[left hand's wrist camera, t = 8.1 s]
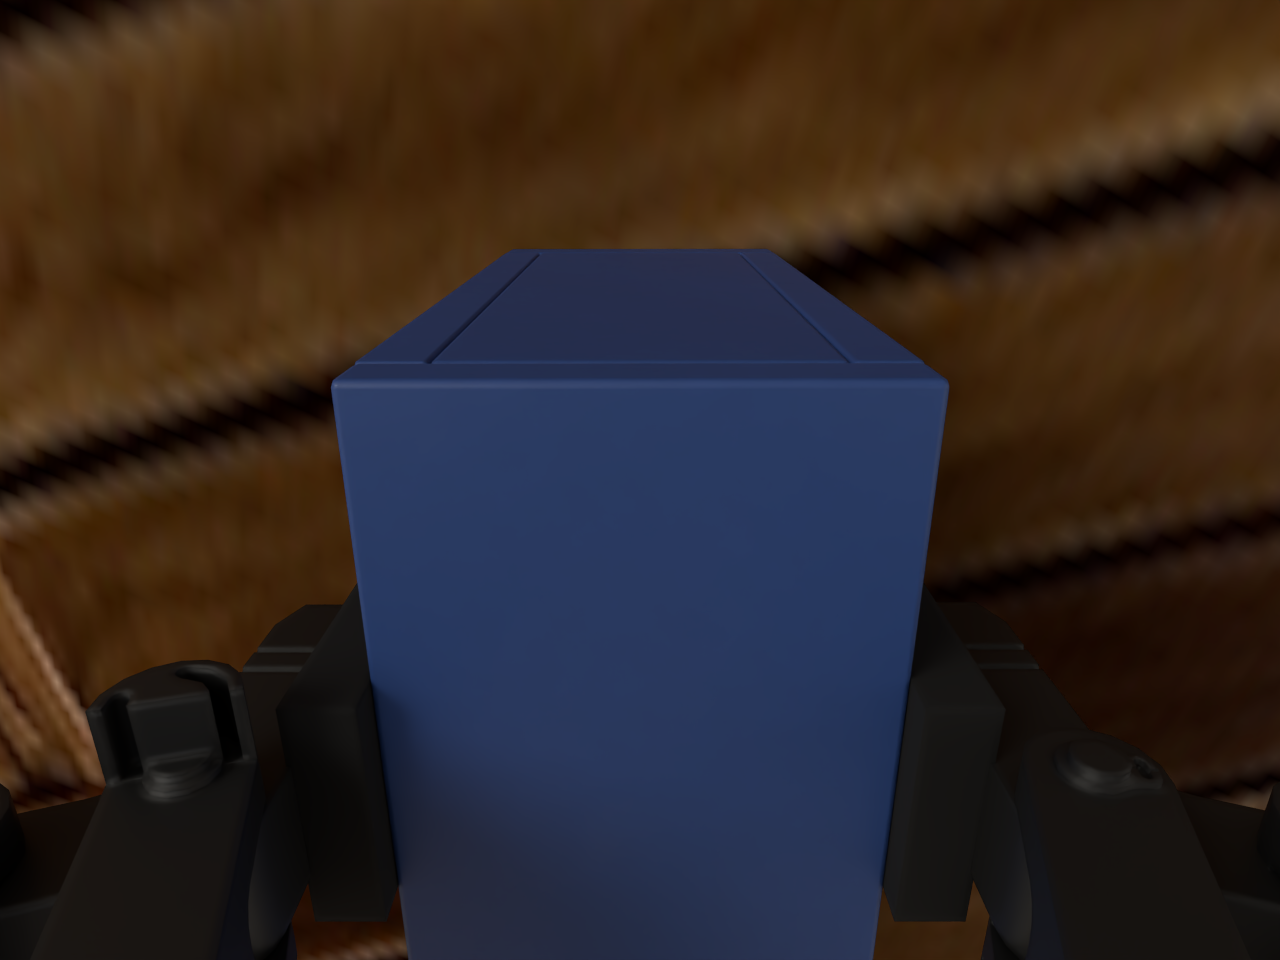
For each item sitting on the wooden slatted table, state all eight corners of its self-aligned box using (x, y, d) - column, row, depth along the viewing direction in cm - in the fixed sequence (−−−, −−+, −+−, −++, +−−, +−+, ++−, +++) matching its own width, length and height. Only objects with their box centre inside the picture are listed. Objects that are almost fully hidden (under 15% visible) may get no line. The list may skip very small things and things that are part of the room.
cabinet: (734, 934, 24) (802, 1499, 14) (547, 934, 24) (479, 1499, 14) (770, 248, 18) (953, 378, 7) (509, 248, 18) (325, 379, 7)
